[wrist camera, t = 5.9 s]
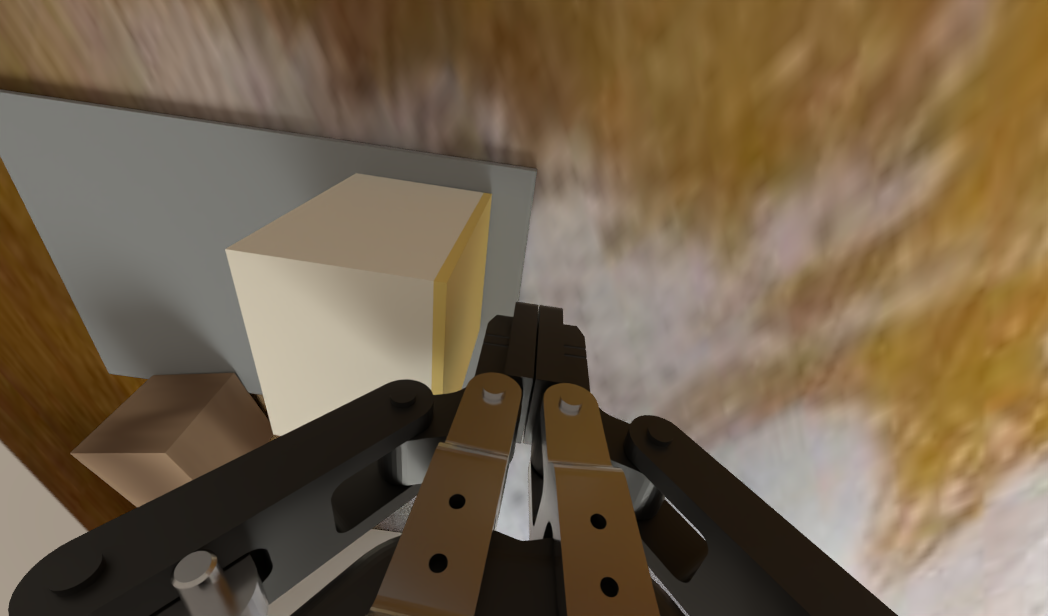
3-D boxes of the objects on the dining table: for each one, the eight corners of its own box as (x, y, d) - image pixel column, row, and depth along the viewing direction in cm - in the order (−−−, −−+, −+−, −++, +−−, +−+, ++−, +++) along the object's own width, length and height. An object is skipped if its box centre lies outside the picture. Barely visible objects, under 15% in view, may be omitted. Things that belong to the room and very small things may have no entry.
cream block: (492, 193, 15) (447, 282, 9) (479, 329, 19) (440, 460, 13) (356, 173, 15) (225, 249, 9) (367, 311, 19) (273, 434, 13)
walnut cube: (234, 372, 21) (165, 453, 17) (276, 430, 23) (224, 510, 20) (153, 375, 21) (69, 453, 18) (202, 431, 24) (139, 509, 20)
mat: (537, 168, 15) (536, 171, 15) (501, 421, 22) (500, 427, 22) (-21, 86, 15) (-35, 87, 15) (116, 368, 22) (109, 373, 21)
